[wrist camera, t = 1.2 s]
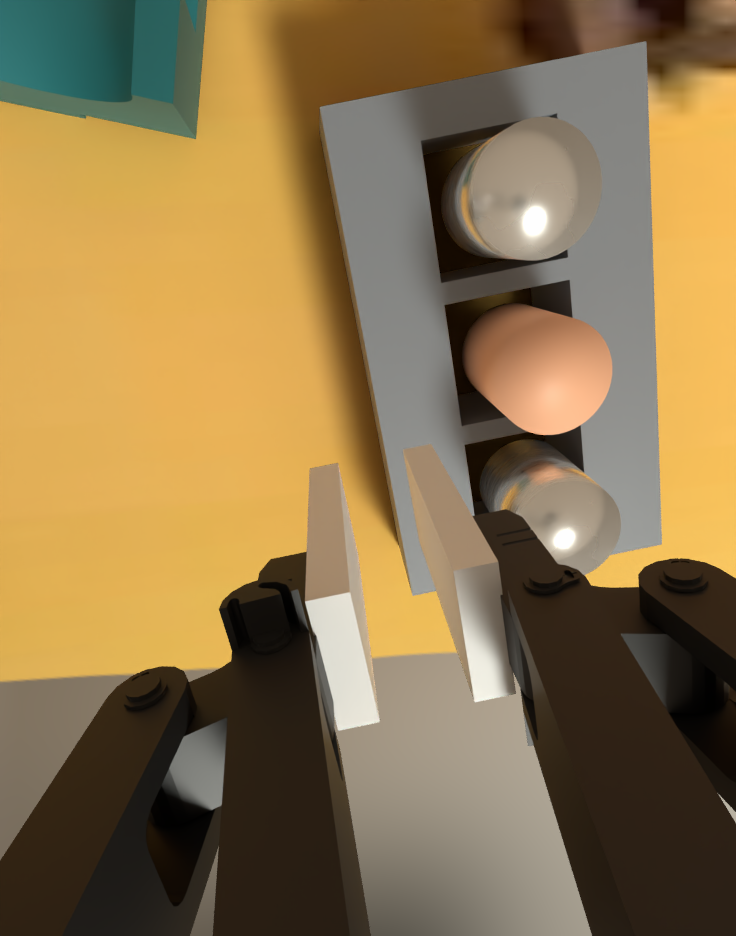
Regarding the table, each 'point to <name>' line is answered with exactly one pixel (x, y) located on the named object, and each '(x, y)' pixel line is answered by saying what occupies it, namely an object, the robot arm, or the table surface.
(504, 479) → the steel plug
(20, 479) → the table surface
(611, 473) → the grey rectangular block
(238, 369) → the table surface
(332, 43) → the table surface
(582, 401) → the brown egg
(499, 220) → the steel plug
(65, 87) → the teal l-shaped bracket
